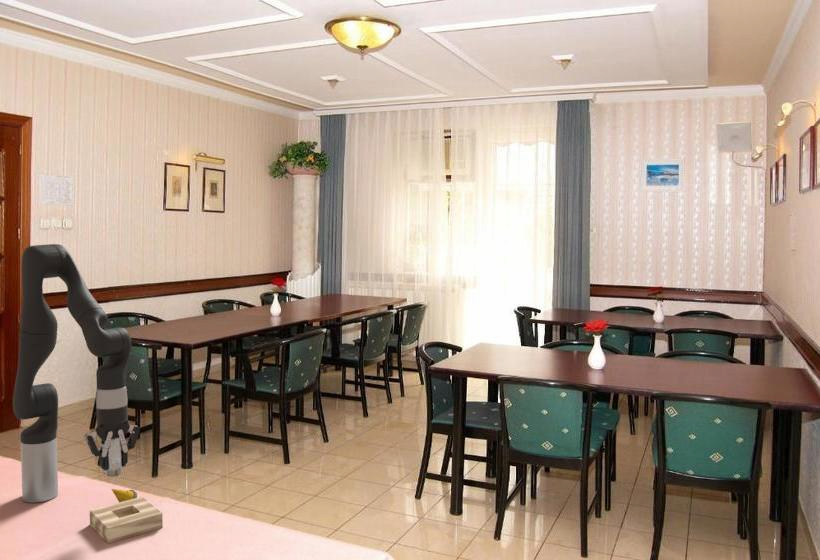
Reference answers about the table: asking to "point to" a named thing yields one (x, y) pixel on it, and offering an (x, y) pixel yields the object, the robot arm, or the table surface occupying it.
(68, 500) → the table surface
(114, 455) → the pin
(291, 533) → the table surface
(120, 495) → the drill bit
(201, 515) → the table surface
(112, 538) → the socket block
